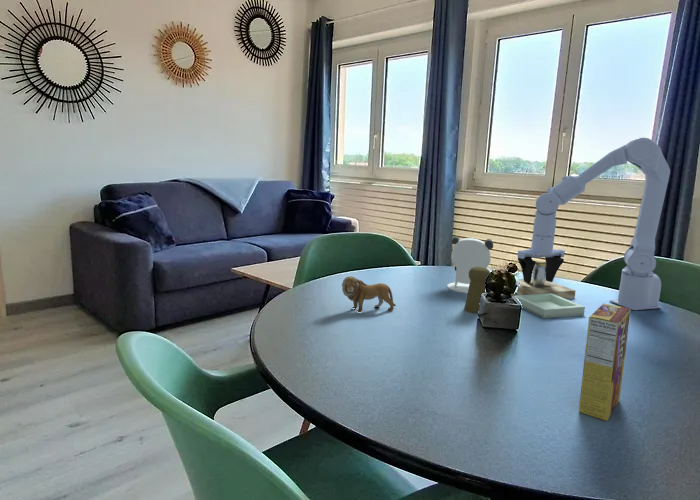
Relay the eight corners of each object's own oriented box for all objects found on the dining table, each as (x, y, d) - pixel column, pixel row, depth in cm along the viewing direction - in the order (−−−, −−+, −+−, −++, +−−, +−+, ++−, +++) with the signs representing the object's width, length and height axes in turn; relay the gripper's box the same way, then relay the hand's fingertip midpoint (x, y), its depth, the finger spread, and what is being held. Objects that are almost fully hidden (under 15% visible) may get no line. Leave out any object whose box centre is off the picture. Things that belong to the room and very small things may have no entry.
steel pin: (538, 290, 138) (541, 260, 136) (546, 293, 135) (549, 263, 133) (528, 291, 137) (531, 261, 135) (536, 294, 134) (539, 263, 132)
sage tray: (550, 301, 128) (551, 293, 127) (583, 315, 116) (584, 306, 116) (513, 303, 124) (513, 295, 124) (543, 318, 113) (544, 309, 113)
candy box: (590, 391, 77) (603, 302, 74) (620, 400, 74) (634, 308, 72) (575, 411, 70) (588, 315, 68) (607, 422, 68) (622, 322, 65)
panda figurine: (488, 285, 142) (493, 237, 139) (489, 295, 131) (494, 243, 128) (448, 281, 145) (452, 234, 142) (445, 291, 134) (449, 239, 131)
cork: (489, 315, 114) (493, 271, 112) (464, 312, 115) (468, 269, 113) (487, 307, 120) (491, 266, 118) (463, 305, 121) (466, 264, 119)
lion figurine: (345, 317, 110) (347, 279, 108) (337, 310, 114) (338, 274, 113) (400, 310, 115) (402, 275, 114) (390, 304, 120) (392, 270, 118)
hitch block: (540, 285, 144) (541, 278, 144) (574, 298, 131) (575, 290, 131) (502, 287, 140) (502, 280, 140) (532, 301, 127) (533, 293, 127)
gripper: (554, 232, 138) (549, 277, 141) (512, 233, 134) (508, 279, 137) (572, 236, 132) (566, 283, 134) (528, 237, 128) (523, 285, 130)
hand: (538, 281), depth 135 cm, fingers open, 7 cm apart
